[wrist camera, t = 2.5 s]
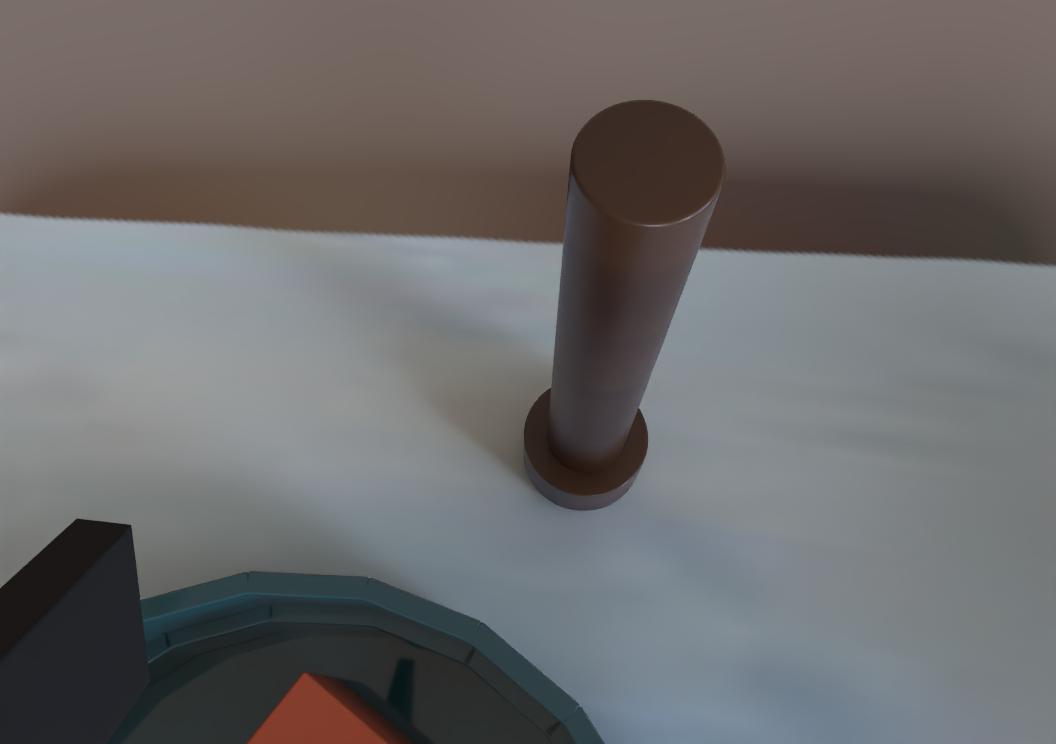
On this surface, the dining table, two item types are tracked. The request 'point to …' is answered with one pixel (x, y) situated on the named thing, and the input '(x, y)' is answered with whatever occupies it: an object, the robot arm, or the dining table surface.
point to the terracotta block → (325, 717)
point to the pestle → (618, 292)
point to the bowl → (336, 664)
